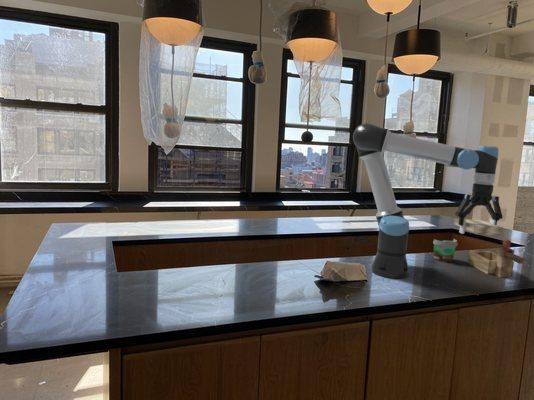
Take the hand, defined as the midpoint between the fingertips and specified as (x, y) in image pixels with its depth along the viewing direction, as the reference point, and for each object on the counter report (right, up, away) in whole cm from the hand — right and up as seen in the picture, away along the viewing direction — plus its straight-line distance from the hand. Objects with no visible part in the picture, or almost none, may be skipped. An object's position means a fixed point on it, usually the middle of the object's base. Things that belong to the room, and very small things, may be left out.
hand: (476, 233), depth 165 cm
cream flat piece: (0, +1, 0) cm, 1 cm away
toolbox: (+13, -17, +11) cm, 24 cm away
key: (+13, -10, -3) cm, 17 cm away
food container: (-3, -15, +22) cm, 27 cm away
